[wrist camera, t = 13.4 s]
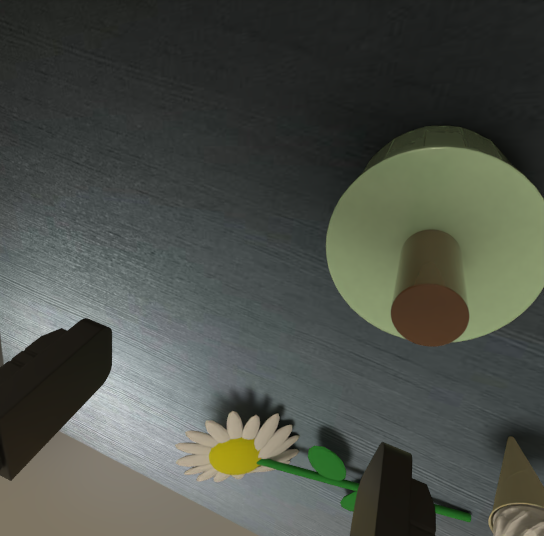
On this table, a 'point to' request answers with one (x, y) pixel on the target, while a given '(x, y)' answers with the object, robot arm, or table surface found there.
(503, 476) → the ice cream cone
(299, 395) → the table surface
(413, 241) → the lid
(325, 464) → the decorative flower
